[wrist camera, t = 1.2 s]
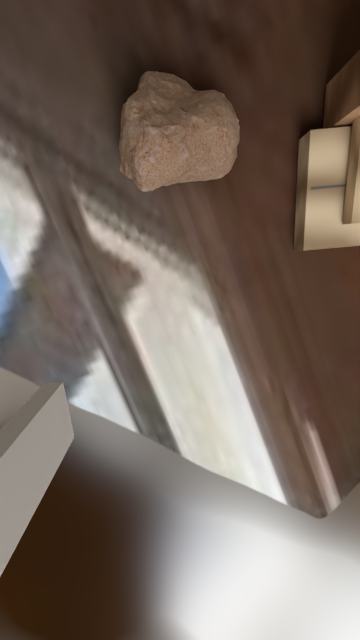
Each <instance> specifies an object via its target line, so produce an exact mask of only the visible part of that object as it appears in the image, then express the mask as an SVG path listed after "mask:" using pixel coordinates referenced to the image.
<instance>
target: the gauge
mask: <svg viewBox="0 0 360 640" xmlns="http://www.w3.org/2000/svg"><path fill="white" fill-rule="evenodd" d="M348 126H352V135H351V145H350V155H349V164H348V174H347V184H346V194H345V204H344V214H343V224H353V223H360V50H359V51H358V52H357V53H356V54H355V55H354V56H353V57H352V58H351V59H350V60H349V61H348V62H347V63H346V65H345V66H344V67H343V68H342V69H341V70H340V71H339V72H338V73H337V74H336V75H335V76H334V77H333V78H332V79H331V80H330V82H329V83H328V84H327V85H326V93H325V107H324V121H323V129H327V128H337V127H348Z"/></svg>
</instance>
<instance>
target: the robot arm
mask: <svg viewBox="0 0 360 640" xmlns="http://www.w3.org/2000/svg"><path fill="white" fill-rule="evenodd" d="M73 439H74V433H73V428H72V423H71V419H70V414H69V409H68V404H67V399H66V395H65V390H64V385H63V382H59V383H44V384H43V385H42V386H41V387H40V388H39V389H38V391H36V392H35V394H34V395H33V396H32V397H31V398H30V399H29V400H28V401H27V402H26V403H25V404H24V405H23V406H22V407H21V408H20V409H19V410H18V411H17V412H16V414H15V415H14V416H13V417H12V418H11V419H10V420H9V421H8V422H7V423H6V424H5V425H4V426H3V427H2V428H1V429H0V576H1V574H2V572H3V571H4V568H5V567H6V565H7V563H8V561H9V559H10V557H11V555H12V553H13V552H14V550H15V548H16V546H17V544H18V542H19V540H20V538H21V537H22V535H23V533H24V531H25V529H26V527H27V525H28V523H29V521H30V520H31V518H32V516H33V514H34V512H35V510H36V508H37V506H38V504H39V502H40V501H41V499H42V497H43V495H44V493H45V491H46V489H47V487H48V486H49V484H50V482H51V480H52V478H53V476H54V474H55V472H56V471H57V469H58V467H59V465H60V463H61V461H62V459H63V457H64V455H65V454H66V452H67V450H68V448H69V445H70V444H71V442H72V440H73Z"/></svg>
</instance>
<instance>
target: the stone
mask: <svg viewBox="0 0 360 640" xmlns="http://www.w3.org/2000/svg"><path fill="white" fill-rule="evenodd" d="M239 129H240V127H239V120H238V118H237V116H236V113H235V111H234V109H233V107H232V104H231V103H230V102H229V101H228V99H227V98H226V97H225V95H224V94H223V93H220V92H218V91H216V90H206V91H197V90H194V89H193V88H192V87H191V86H190V85H189V84H188V83H187V81H185V80H183V79H181V78H179V77H177V76H175V75H174V74H170V73H162V72H157V71H156V72H153V71H147V72H145V73H144V74H143V75H142V76H141V77H140V80H139V84H138V89H137V91H136V92H135V93H134V94H132V95H131V96H130V97H129V98H128V99H127V102H126V103H125V104H123V108H122V110H121V132H120V139H119V146H118V148H119V152H120V165H119V168H120V170H121V172H122V173H123V174H124V175H126V176H127V177H128V178H130V179H131V180H134V182H135V185H136V186H137V187H138V188H139V189H140V190H141V191H143V192H146V191H153V190H154V189H156V188H158V187H161V186H162V185H164V186H168V185H172V184H175V183H184V182H193V181H207V180H214V179H219V178H222V177H223V176H224V175H226V174H228V173H229V171H230V170H231V169H232V166H233V164H234V161H235V159H236V157H237V145H238V143H239V140H240V138H239Z"/></svg>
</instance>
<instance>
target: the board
mask: <svg viewBox="0 0 360 640" xmlns="http://www.w3.org/2000/svg"><path fill="white" fill-rule="evenodd" d="M351 135H352V126H348V127H337V128H327V129H316V130H310V131H309V132H308V133H306V134H305V135H304V136H303V137H302V138H301V139H299V152H298V172H297V193H296V214H295V234H294V250H315V249H326V248H337V247H349V246H360V223H353V224H343V214H344V204H345V194H346V184H347V174H348V164H349V155H350V145H351Z"/></svg>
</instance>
